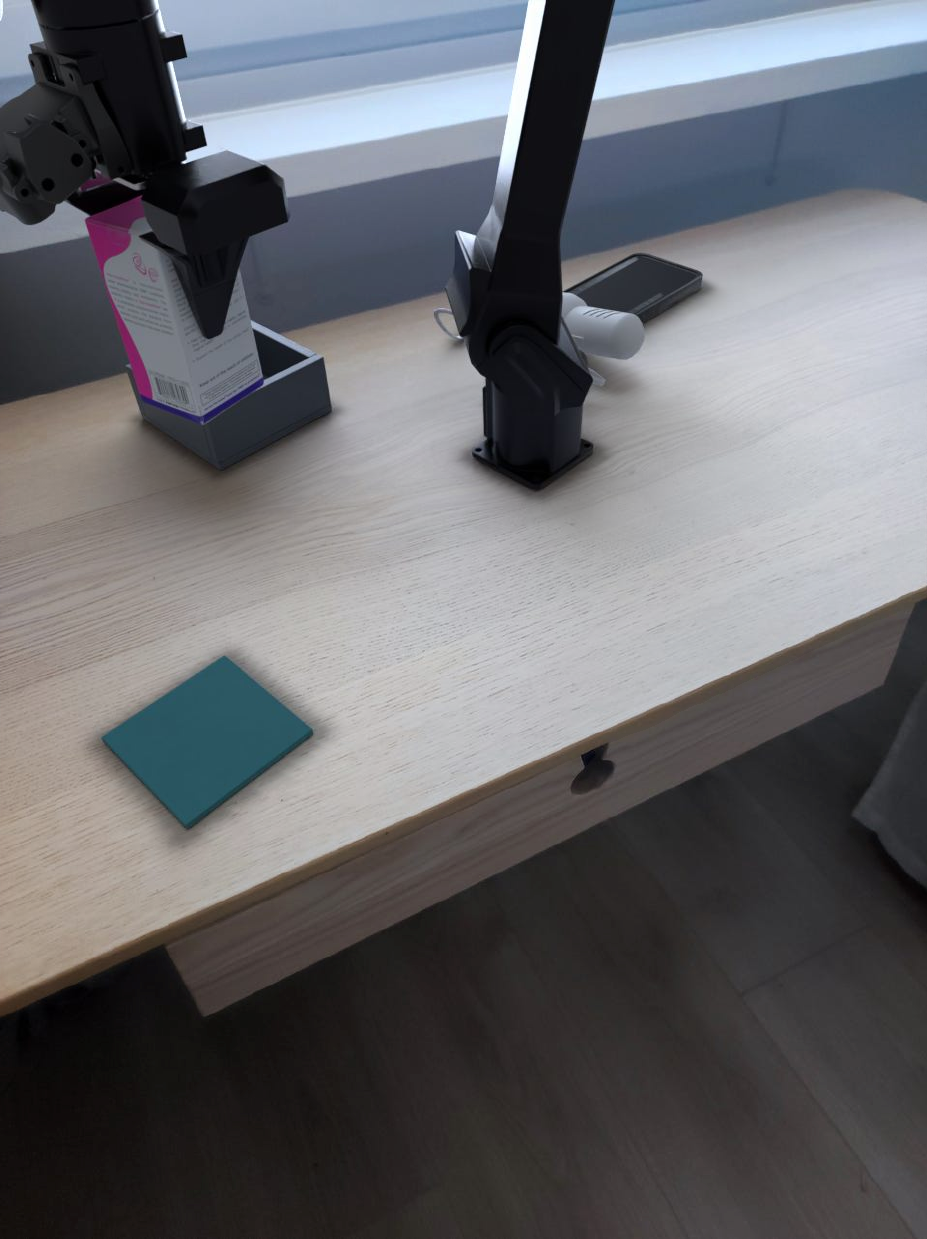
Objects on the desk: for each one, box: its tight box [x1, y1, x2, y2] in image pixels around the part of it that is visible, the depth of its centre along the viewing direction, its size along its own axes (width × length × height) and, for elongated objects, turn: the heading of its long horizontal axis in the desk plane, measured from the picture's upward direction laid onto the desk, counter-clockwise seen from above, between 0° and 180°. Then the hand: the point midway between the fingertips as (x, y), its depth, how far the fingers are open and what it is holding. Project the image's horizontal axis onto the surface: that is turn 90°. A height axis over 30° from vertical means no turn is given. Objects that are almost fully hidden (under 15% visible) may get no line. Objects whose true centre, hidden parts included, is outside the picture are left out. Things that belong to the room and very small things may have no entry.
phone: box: [562, 252, 704, 324], centre depth 81 cm, size 8×1×15 cm
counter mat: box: [101, 654, 314, 830], centre depth 48 cm, size 8×8×1 cm
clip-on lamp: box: [433, 292, 646, 387], centre depth 72 cm, size 12×6×18 cm
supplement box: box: [84, 195, 264, 425], centre depth 54 cm, size 6×6×12 cm
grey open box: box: [124, 320, 333, 471], centre depth 69 cm, size 11×11×5 cm
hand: (183, 319), depth 55 cm, fingers closed on supplement box, 6 cm apart
